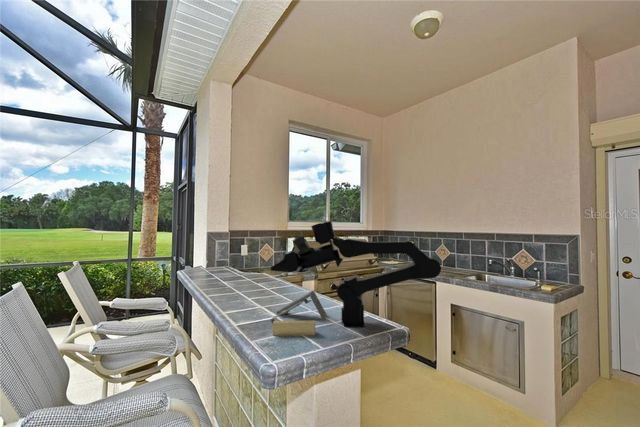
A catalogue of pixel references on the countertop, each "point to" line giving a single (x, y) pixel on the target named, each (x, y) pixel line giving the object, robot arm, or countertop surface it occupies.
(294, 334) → the tan wooden block
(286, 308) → the bracket
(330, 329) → the countertop surface
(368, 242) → the robot arm
